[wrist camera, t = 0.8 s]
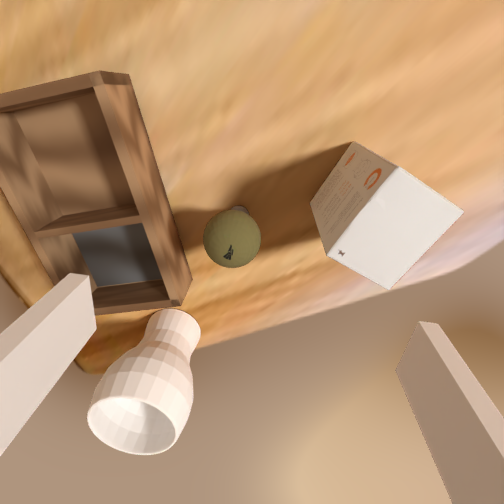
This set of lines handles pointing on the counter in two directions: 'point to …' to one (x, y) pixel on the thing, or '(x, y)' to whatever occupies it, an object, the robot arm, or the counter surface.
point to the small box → (378, 216)
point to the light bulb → (232, 238)
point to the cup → (148, 388)
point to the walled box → (92, 191)
